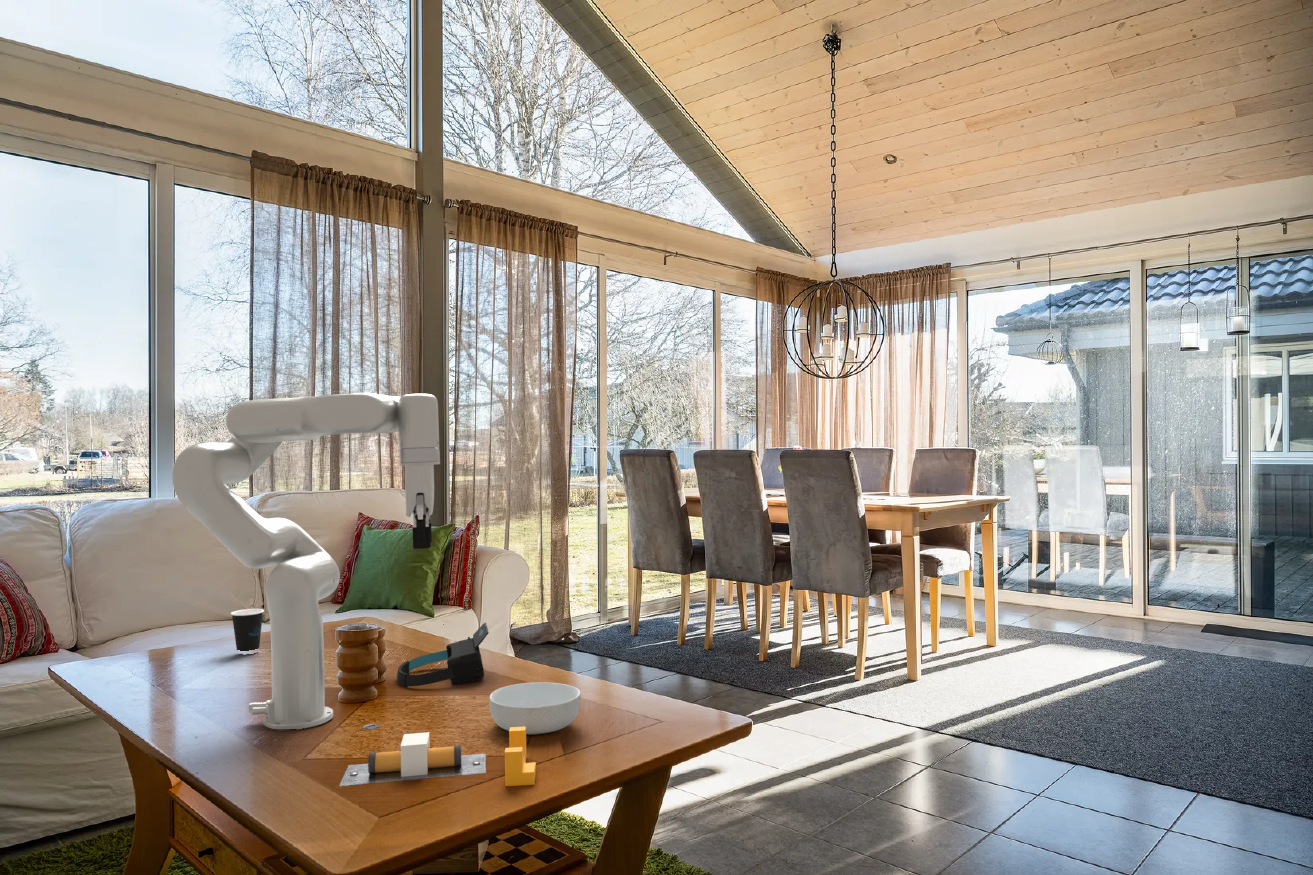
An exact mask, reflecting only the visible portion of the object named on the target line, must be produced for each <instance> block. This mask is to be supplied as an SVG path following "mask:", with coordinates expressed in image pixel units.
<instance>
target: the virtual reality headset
mask: <svg viewBox="0 0 1313 875" xmlns="http://www.w3.org/2000/svg"><path fill="white" fill-rule="evenodd" d="M489 633H490V632H489V629H488V625H487V623H486V622H483V624H481V626H480V627H478V629H476V631H475V632H474V633H473V634H472V637H471V636H468V637H467V639H461V640H459V641H456V642H452V643H449V644H447V645H446V647H445V648H446V649H444V650H441V651H436V652H432V653H428V654H424V655H421V656H418V657H416V658H413V659H411V660H406V661H405V662H403V663H402V664H400V666H399V667H398V668H397V673H396V680H397V684H399V685H400V686H401V687H404V688H407V687H419V686H420V687H421V686H426V685H431V684H435V683H440V682H444V681H447V680H450V683H451V684H452V685H461V684H466V683H467V684H468V683H471V682H474V681H480V680H482V679H484V677H485V670H484V664H483V660H482V655H481V651H480V645H481V644H482V643H483V641H484V640H485V638H487V636H488V635H489ZM442 661H446V666H447V667H446V668H444V669H443V668H442V669H439V670H435V671H431V672H426V673H421V674H420V673H419V674H410V672H411V671H413V670H414V669H415V670H416V669H417V668H420V667H422V666H426V665H430V664H433V663H437V662H442Z"/></svg>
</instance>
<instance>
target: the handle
mask: <svg viewBox="0 0 1313 875" xmlns="http://www.w3.org/2000/svg"><path fill="white" fill-rule="evenodd" d="M427 751H428V768H437V767H449V766H460V765H461V756H462V745H461V744H459V745H454V746H443V747H440V746H439V747H431V748H428V749H427ZM367 760H368V762H367V764H368V771H369V773H380V772H392V771H401V750H395V751H383V752H376V751H374V752H369V753H368V758H367Z"/></svg>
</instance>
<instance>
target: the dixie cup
mask: <svg viewBox="0 0 1313 875" xmlns="http://www.w3.org/2000/svg"><path fill="white" fill-rule="evenodd" d="M264 612H265V610H264V609H262V608H245V609H238V610H234V611H231V612H230V616H231V617H232V624H233V626H232V627H233V631H234V632H233V634H234V640H235V647H236V651H237V650H240V651H249V650H255V649H258V648H259V649H260V644H261V634H262V626H263V613H264ZM259 649H258V650H259Z"/></svg>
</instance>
